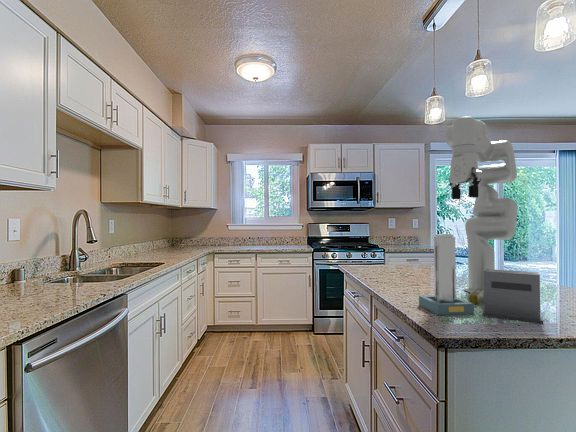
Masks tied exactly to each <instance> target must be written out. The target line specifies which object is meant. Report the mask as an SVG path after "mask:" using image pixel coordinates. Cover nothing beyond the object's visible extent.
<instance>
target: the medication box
mask: <svg viewBox="0 0 576 432" xmlns="http://www.w3.org/2000/svg"><path fill="white" fill-rule="evenodd" d="M468 297H469V302H471V303H473V304H474V306H479V305H480V304H482V302H483V303H484V289H476V290H475V291H473V292H472V293H471V292H470V294H469V296H468Z"/></svg>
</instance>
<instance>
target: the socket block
mask: <svg viewBox="0 0 576 432" xmlns="http://www.w3.org/2000/svg"><path fill="white" fill-rule="evenodd" d="M418 306H419V307H420V308H422V309H424V310H426V311H428V312H430V313H432V314H434V315H436V316H437V317H449V316H450V317H453V316H475V305H474V304H473V303H471V302H470V301H468V300H465V299H463V298H460V297H457V296H456V303H439V302H436V301H435V300H434V294H433V295H418Z"/></svg>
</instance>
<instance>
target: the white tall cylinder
mask: <svg viewBox="0 0 576 432" xmlns="http://www.w3.org/2000/svg"><path fill="white" fill-rule="evenodd" d="M456 268H457V267H456V237H455V236H454V234H450V233H449V234H445V233H442V234H441V233H440V234H439V233H437V234H434V237H433V275H434V276H433V288H434V294H433V295H434V300H435V301H436V302H439V303H456V297H457V287H456V286H457V282H456V281H457V279H456V277H457V275H456V272H457V270H456Z"/></svg>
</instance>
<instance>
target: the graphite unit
mask: <svg viewBox="0 0 576 432" xmlns="http://www.w3.org/2000/svg"><path fill="white" fill-rule="evenodd" d="M540 277H541V275H540V274H539V273H538V272H537V271H522V270H512V269H511V270H509V269H507V270H506V269H484V301H483V306H482V309H481V310H482V312H481V313H482V315H481V316H482V317H484V318H485V317H486V318H493V319H500V320H509V321H517V322H525V323H531V324H538V325H544V320H543V318H542V317H541V278H540Z"/></svg>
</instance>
